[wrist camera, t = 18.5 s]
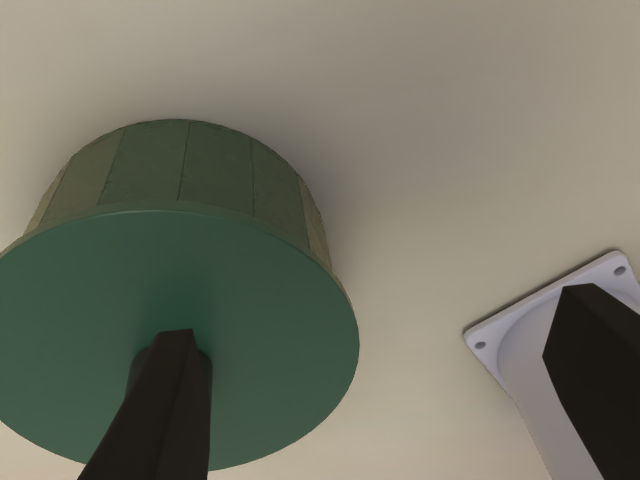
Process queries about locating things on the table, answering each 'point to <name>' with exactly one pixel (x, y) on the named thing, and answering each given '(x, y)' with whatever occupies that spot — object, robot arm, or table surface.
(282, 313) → the lid
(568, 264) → the table surface
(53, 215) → the pot
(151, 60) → the table surface
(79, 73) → the table surface
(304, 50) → the table surface
